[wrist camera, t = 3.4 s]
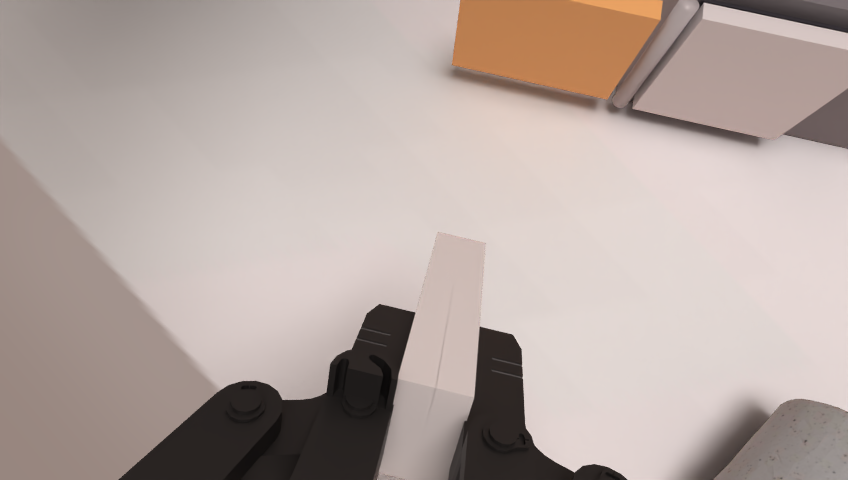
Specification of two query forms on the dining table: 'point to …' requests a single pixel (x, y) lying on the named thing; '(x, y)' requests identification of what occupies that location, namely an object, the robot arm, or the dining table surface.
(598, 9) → the side door
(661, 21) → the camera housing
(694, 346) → the dining table surface
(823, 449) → the ceramic mug
